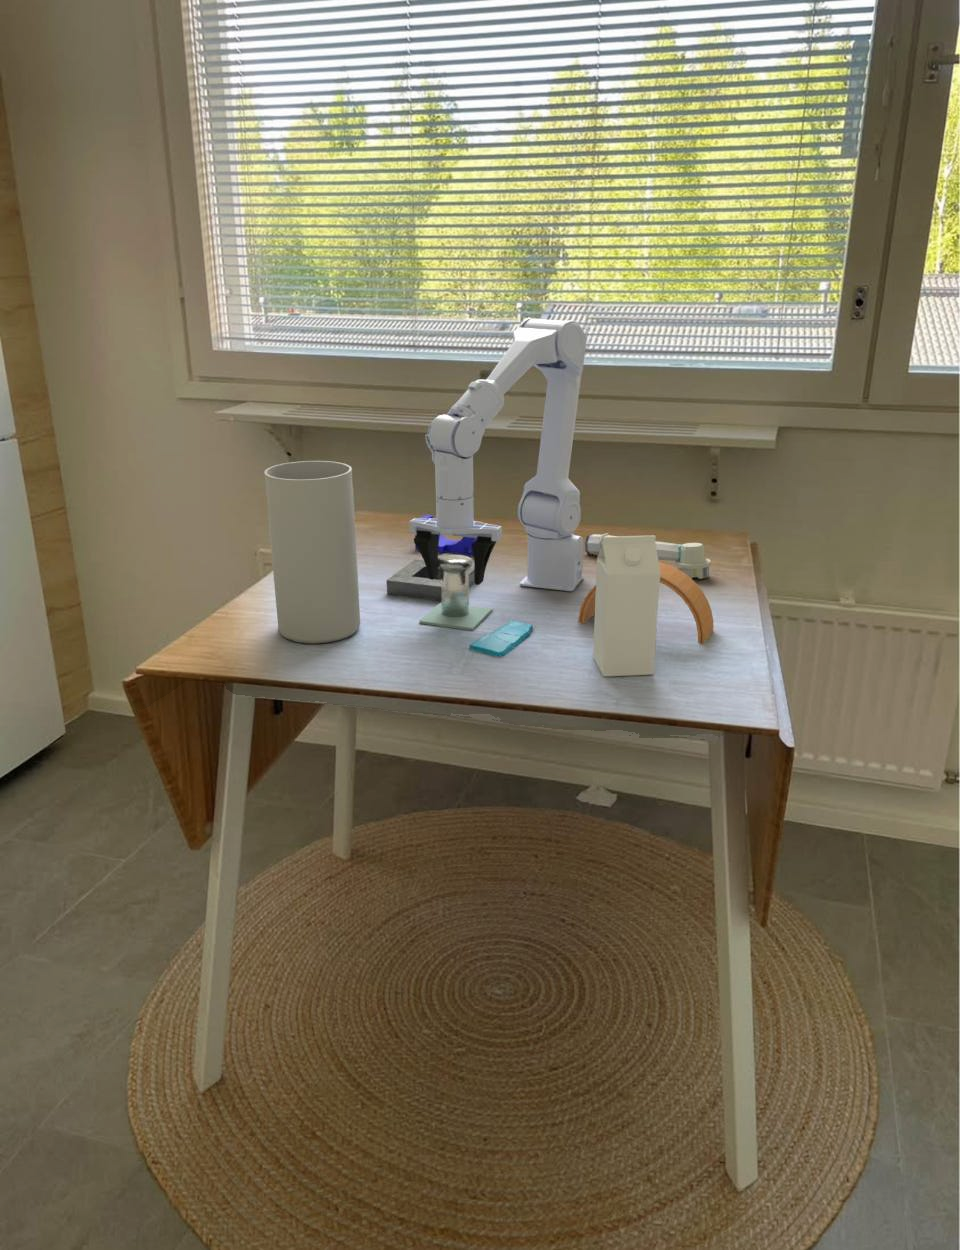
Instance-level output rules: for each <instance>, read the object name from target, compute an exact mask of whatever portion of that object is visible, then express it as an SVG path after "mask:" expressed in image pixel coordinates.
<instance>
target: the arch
mask: <svg viewBox="0 0 960 1250" xmlns="http://www.w3.org/2000/svg"><path fill="white" fill-rule="evenodd" d="M659 567H660V584H662V585H665V586H666V587H668V588H669V589H670V590H672V591H673V592H674V593H676V594H677V595H678V596H679V597H680V598H681V600H683V602H684V603H685V604H686V606H687V607H688V609H689V610H690V612H691V614H692V617H693V620H694V622H695V624H696V629H697V643H699V644H705V643H706V641H707V640H708V639H709V638H710V636H711V634H713V632H714V616H713V611H712V608H711V605H710V603H709V600H708V599H707V597H706V595H705V593H704V591H703V590H702V589H701V587H700V586H699V585H698V584H697V583H696V581H694V579H693V578H692V579H691V578H690V577H689V576H688V575H686V574H685V573H683V572H682V571H680V570H679V569H678V567H676V566H672V565H670V564H669V563H664V562H661V561H659ZM595 598H596V584H595V585H594V586H593V587H592V588H591V589H590V590H589V592H588V593H587V595H586V596H585V597H584V599H583V602H582V604H581V606H580V610H579V614H578V618H577V620H578V623H583V624H585V623H586V622H588V621H589V620H590V619H591V618H592V617H593V616H595Z"/></svg>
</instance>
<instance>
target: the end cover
mask: <svg viewBox="0 0 960 1250" xmlns="http://www.w3.org/2000/svg"><path fill="white" fill-rule="evenodd" d="M472 562H473V560H472V558H471V557H470V556H469V555H465V554H448V555H443V556H440V557H438V560H437V565H438V567H439V568H441V601H440V602H441V607H442V614H443V615H444V616H447V617H463V616H466V615H468V614H469V606H470V603H469V602H470V587H469V568H470V567H471V566H473V563H472Z"/></svg>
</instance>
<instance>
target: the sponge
mask: <svg viewBox="0 0 960 1250" xmlns="http://www.w3.org/2000/svg"><path fill="white" fill-rule="evenodd" d="M533 627H534V625H533V624H530V623H526V622H521V621H516V620H509V621H508V622H507V623H505V624H504V625H502V626H500V627H498V628H497V629H494V630H492V631H491V632H489V633H488V634H486V635H484V636H482V637H480V638H478V639H477V640H475V641H473V642H472V643H470V644H469V645H468V646H469V650H472V651H475V652H479V653H482V654H483V653H484V654H486V655H490V654H491V656H494V657H498V658H500V657H501V656H506V655H507V654H509V652H511V651H512V650H514V648H516V647H517V646H519V644H521V643H522V642H523V641H524V640H525V639H526V638H528V637H530V635H531V633H532V630H533Z"/></svg>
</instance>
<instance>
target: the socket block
mask: <svg viewBox="0 0 960 1250" xmlns="http://www.w3.org/2000/svg"><path fill="white" fill-rule="evenodd" d="M474 568H475V566H474V565H472V566H471V567H470V568H469V588H470V587H472V586H473V585H475V581H474ZM385 581H386V594H387V595H390V594H394V595H393V596H398V595H400V596H399V597H406V598H415V599H423V600H424V599H425V600H431V601H440V602H441V568H439V570H438V576H437V577H436V578H435V579H433V580H432V579H429V575H428V571H427V568H426V565H425V562H424V559H423V560H422V559H414V560H413V561H411V562H409V563H408V564H407V565H406V566H404V567H402V569H400V570H399V571H397V572H396V573H394V574H393V575H391V576H390V577H389V578H387V579H386V580H385Z"/></svg>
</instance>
